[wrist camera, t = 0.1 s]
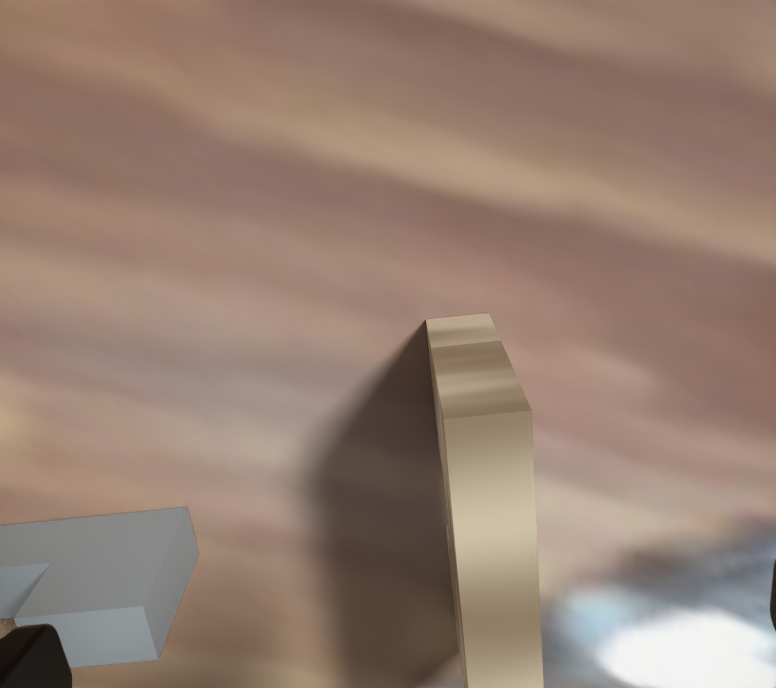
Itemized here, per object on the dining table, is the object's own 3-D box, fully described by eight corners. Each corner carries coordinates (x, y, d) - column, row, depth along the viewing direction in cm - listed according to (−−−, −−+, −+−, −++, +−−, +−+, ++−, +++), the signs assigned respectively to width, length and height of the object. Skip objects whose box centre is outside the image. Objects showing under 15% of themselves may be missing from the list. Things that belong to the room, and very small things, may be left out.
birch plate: (507, 613, 27) (547, 786, 20) (454, 618, 27) (477, 792, 20) (488, 313, 23) (531, 410, 16) (425, 319, 23) (443, 419, 16)
